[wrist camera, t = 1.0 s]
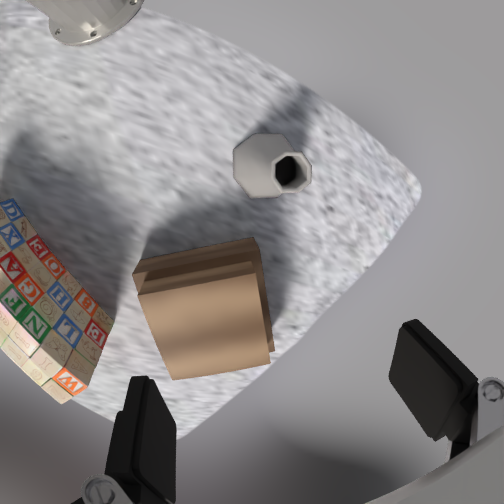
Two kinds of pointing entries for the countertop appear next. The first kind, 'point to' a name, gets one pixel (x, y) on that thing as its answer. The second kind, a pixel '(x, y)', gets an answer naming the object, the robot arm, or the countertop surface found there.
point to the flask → (270, 167)
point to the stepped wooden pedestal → (207, 308)
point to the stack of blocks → (46, 312)
